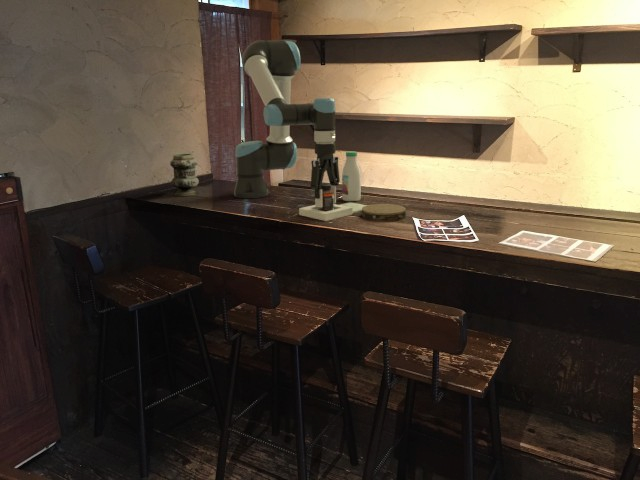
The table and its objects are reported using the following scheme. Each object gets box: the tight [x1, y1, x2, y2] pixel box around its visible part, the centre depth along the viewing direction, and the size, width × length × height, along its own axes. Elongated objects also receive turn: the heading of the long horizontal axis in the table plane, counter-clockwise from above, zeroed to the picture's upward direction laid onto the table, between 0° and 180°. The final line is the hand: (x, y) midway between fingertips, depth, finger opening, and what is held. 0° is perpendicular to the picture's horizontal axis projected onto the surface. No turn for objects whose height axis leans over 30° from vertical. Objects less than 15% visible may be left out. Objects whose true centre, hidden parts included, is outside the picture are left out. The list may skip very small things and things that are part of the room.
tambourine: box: [361, 203, 407, 222], centre depth 193 cm, size 16×16×3 cm
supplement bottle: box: [318, 183, 335, 212], centre depth 195 cm, size 6×6×11 cm
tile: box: [340, 201, 367, 214], centre depth 206 cm, size 12×12×1 cm
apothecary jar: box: [169, 152, 200, 197], centre depth 238 cm, size 12×12×18 cm
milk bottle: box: [341, 151, 362, 202], centre depth 219 cm, size 8×8×20 cm
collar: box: [298, 203, 354, 222], centre depth 196 cm, size 14×14×2 cm
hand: (325, 204), depth 196 cm, fingers open, 8 cm apart
